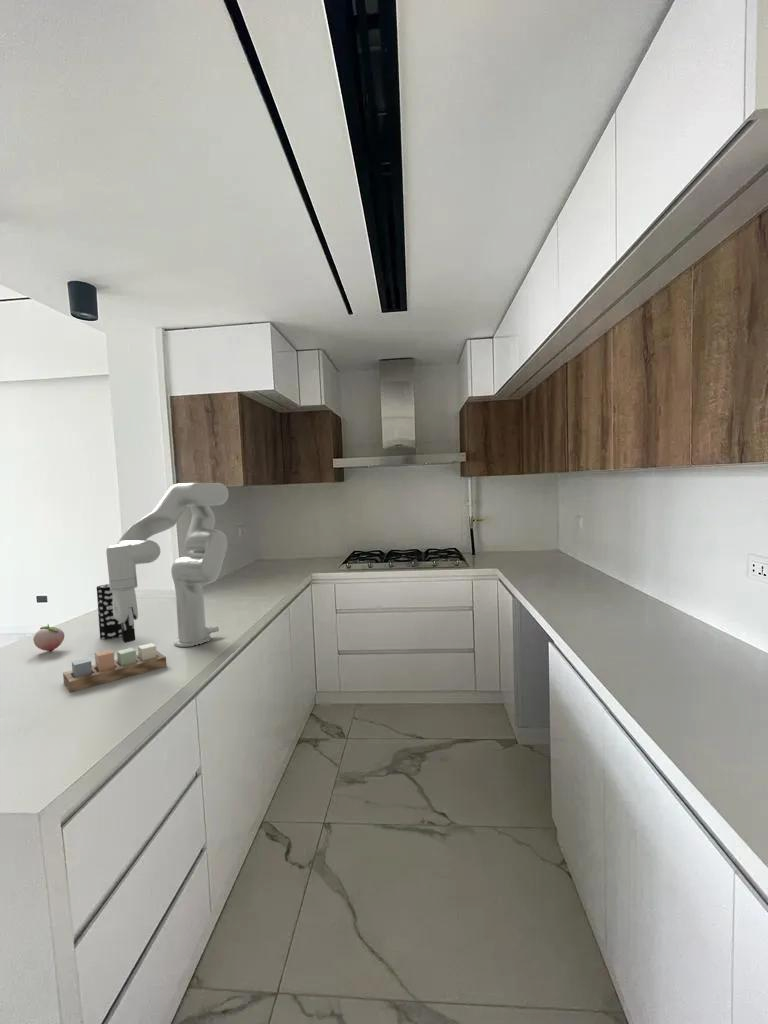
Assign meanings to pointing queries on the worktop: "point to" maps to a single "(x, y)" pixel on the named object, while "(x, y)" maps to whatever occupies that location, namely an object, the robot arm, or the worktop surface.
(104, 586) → the spotted tube
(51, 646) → the decorative fruit
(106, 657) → the key terracotta
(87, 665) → the grey block
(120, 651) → the key sage
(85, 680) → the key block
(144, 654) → the cream block
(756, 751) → the worktop surface
